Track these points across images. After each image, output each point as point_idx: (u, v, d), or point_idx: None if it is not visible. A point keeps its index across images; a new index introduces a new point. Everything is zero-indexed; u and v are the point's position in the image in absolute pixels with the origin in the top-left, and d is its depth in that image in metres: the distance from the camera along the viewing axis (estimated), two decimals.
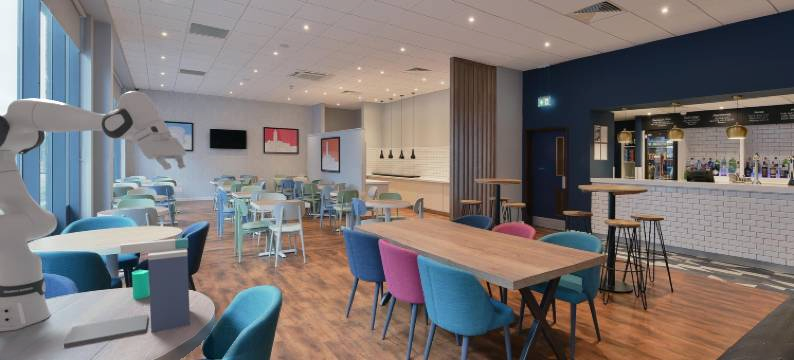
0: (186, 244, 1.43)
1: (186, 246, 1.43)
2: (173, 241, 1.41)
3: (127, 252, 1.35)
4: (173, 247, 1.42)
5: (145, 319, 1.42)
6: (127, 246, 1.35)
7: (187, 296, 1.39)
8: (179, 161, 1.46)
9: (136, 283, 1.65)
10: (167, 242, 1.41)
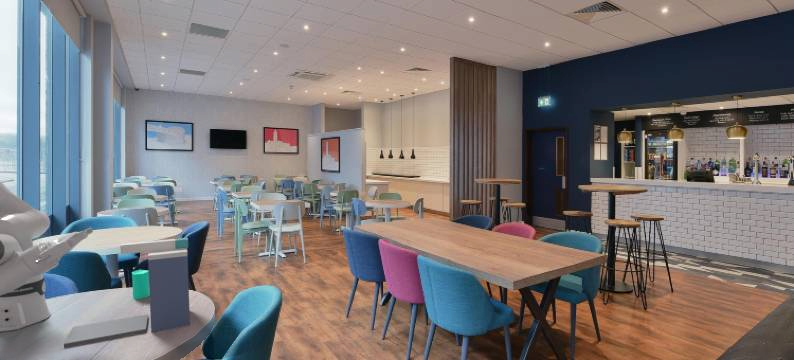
0: (186, 244, 1.43)
1: (186, 246, 1.43)
2: (173, 241, 1.41)
3: (127, 252, 1.35)
4: (173, 247, 1.42)
5: (145, 319, 1.42)
6: (127, 246, 1.35)
7: (187, 296, 1.39)
8: None
9: (136, 283, 1.65)
10: (167, 242, 1.41)
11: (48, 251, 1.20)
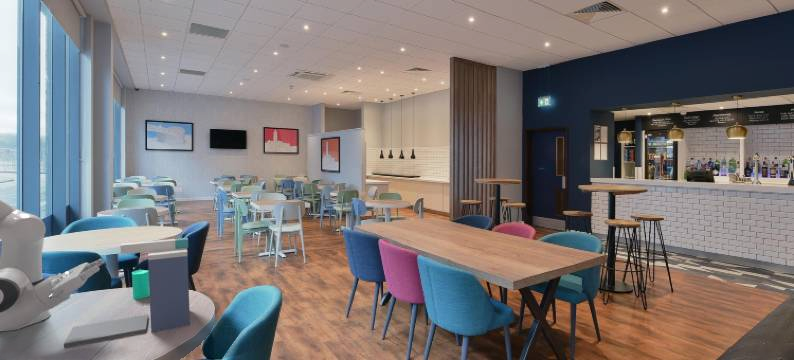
0: (186, 244, 1.43)
1: (186, 246, 1.43)
2: (173, 241, 1.41)
3: (127, 252, 1.35)
4: (173, 247, 1.42)
5: (145, 319, 1.42)
6: (127, 246, 1.35)
7: (187, 296, 1.39)
8: None
9: (136, 283, 1.65)
10: (167, 242, 1.41)
11: (61, 286, 1.20)
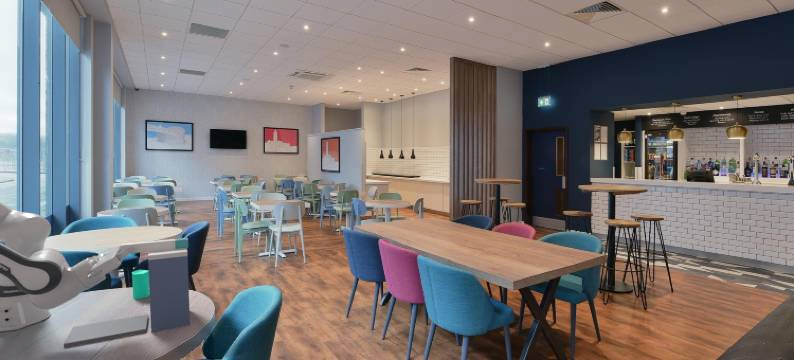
0: (186, 244, 1.43)
1: (186, 246, 1.43)
2: (173, 241, 1.41)
3: None
4: (173, 247, 1.41)
5: (145, 319, 1.42)
6: (127, 246, 1.35)
7: (187, 296, 1.39)
8: None
9: (136, 283, 1.65)
10: (167, 242, 1.41)
11: (100, 266, 1.25)
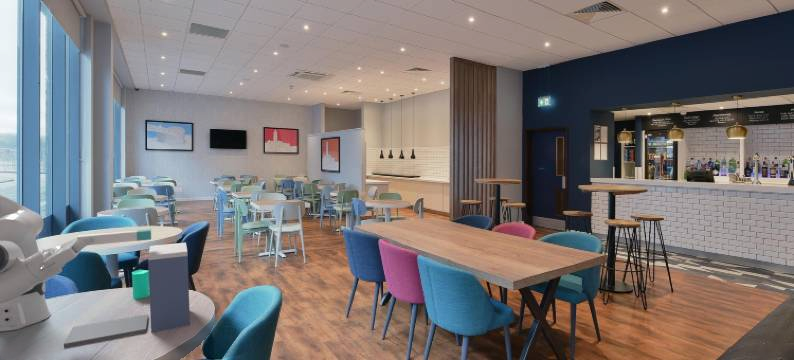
0: (148, 236, 1.38)
1: (149, 238, 1.38)
2: (135, 233, 1.36)
3: None
4: (135, 239, 1.36)
5: (145, 319, 1.42)
6: (85, 237, 1.29)
7: (187, 296, 1.39)
8: None
9: (136, 283, 1.65)
10: (128, 234, 1.35)
11: (53, 258, 1.19)
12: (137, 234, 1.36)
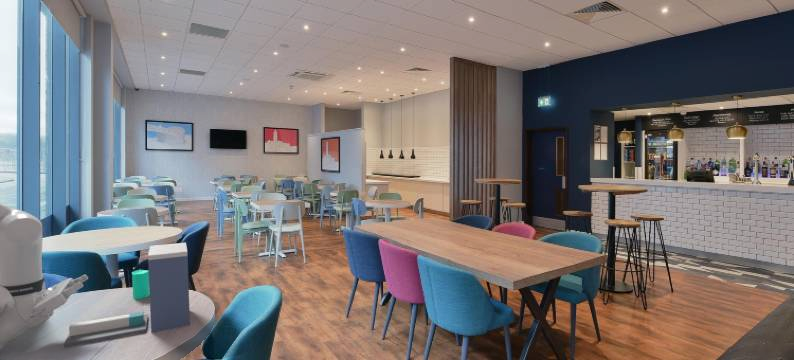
0: (140, 320, 1.38)
1: (141, 322, 1.38)
2: (127, 318, 1.36)
3: (76, 333, 1.30)
4: (127, 324, 1.36)
5: (145, 319, 1.42)
6: (76, 327, 1.29)
7: (187, 296, 1.39)
8: None
9: (136, 283, 1.65)
10: (120, 320, 1.35)
11: (43, 304, 1.18)
12: (129, 319, 1.36)
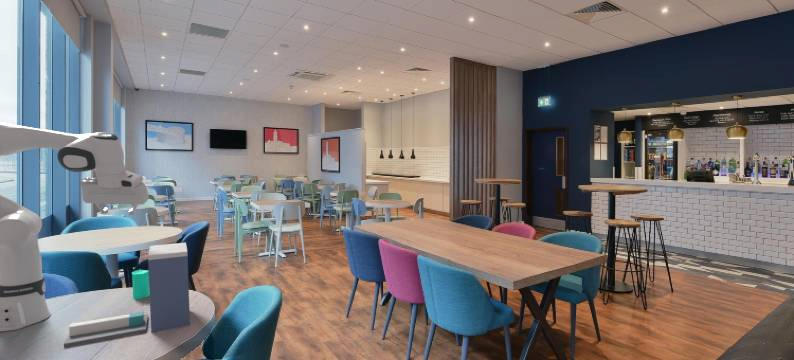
0: (140, 320, 1.38)
1: (141, 322, 1.38)
2: (127, 318, 1.36)
3: (76, 333, 1.30)
4: (127, 324, 1.36)
5: (145, 319, 1.42)
6: (76, 327, 1.29)
7: (187, 296, 1.39)
8: (101, 206, 1.44)
9: (136, 283, 1.65)
10: (120, 320, 1.35)
11: None
12: (129, 319, 1.36)
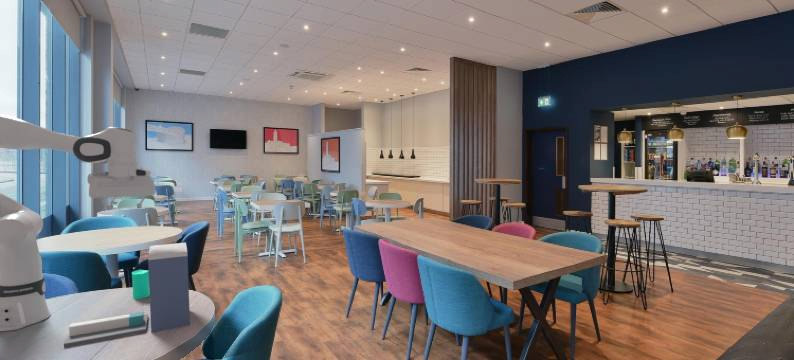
0: (140, 320, 1.38)
1: (141, 322, 1.38)
2: (127, 318, 1.36)
3: (76, 333, 1.30)
4: (127, 324, 1.36)
5: (145, 319, 1.42)
6: (76, 327, 1.29)
7: (187, 296, 1.39)
8: (106, 202, 1.45)
9: (136, 283, 1.65)
10: (120, 320, 1.35)
11: (89, 186, 1.42)
12: (129, 319, 1.36)
